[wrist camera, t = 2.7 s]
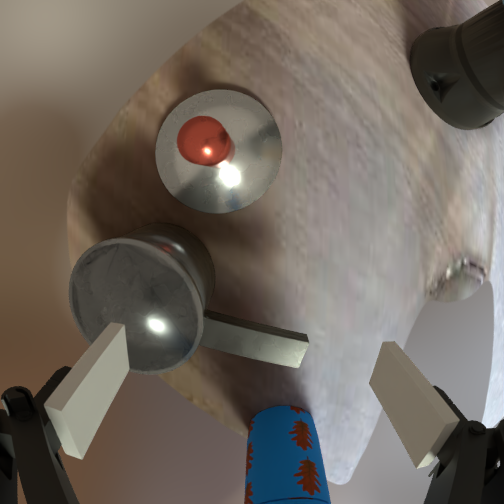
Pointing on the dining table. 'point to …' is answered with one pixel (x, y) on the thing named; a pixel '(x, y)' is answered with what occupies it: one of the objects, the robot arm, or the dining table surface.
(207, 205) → the lid
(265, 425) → the thermos
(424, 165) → the dining table surface
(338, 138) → the dining table surface
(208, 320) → the pot
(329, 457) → the dining table surface
